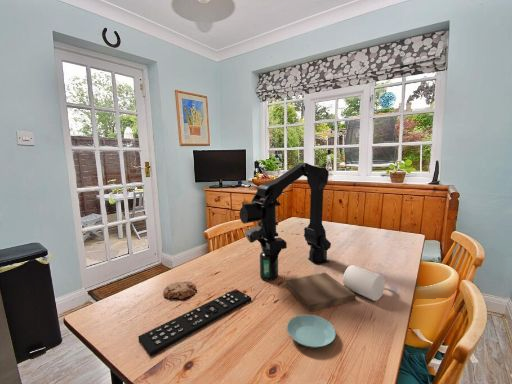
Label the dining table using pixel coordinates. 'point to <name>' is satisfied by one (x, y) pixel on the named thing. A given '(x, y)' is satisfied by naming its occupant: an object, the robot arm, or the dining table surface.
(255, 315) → the dining table surface
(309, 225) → the robot arm
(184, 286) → the cookie
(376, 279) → the mug
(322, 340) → the saucer
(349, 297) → the walnut board
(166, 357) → the dining table surface
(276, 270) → the supplement bottle
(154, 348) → the remote control
